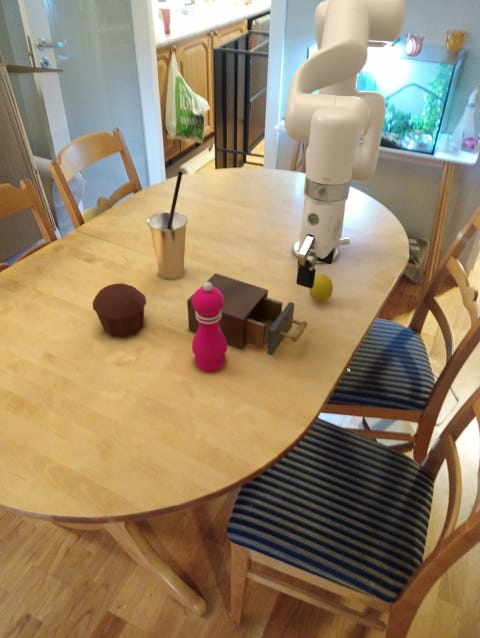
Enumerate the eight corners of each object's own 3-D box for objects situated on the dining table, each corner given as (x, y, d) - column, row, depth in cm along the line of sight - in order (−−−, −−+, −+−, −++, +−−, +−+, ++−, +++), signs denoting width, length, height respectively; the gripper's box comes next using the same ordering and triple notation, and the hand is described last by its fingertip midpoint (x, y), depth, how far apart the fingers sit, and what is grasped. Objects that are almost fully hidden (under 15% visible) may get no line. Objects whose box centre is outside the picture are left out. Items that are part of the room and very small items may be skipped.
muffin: (158, 318, 110) (154, 283, 104) (131, 347, 102) (125, 311, 96) (116, 305, 114) (110, 270, 107) (87, 332, 106) (78, 296, 99)
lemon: (332, 297, 117) (336, 270, 112) (327, 310, 113) (332, 283, 108) (310, 293, 119) (314, 266, 114) (305, 305, 115) (309, 278, 110)
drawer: (309, 333, 105) (313, 308, 101) (290, 362, 98) (293, 338, 94) (243, 310, 111) (243, 287, 107) (220, 337, 104) (219, 312, 100)
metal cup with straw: (188, 287, 120) (181, 173, 101) (145, 282, 121) (131, 168, 102) (199, 265, 128) (195, 155, 109) (159, 260, 130) (149, 151, 111)
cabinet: (266, 319, 110) (268, 289, 105) (242, 350, 102) (243, 319, 96) (215, 302, 115) (215, 273, 110) (188, 330, 107) (186, 300, 101)
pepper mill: (192, 350, 102) (187, 272, 89) (226, 349, 102) (226, 271, 90) (192, 374, 96) (187, 295, 83) (228, 373, 96) (228, 293, 84)
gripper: (329, 211, 72) (316, 302, 82) (363, 175, 84) (348, 258, 94) (284, 200, 75) (277, 290, 85) (324, 167, 87) (313, 249, 97)
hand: (314, 273), depth 90 cm, fingers open, 9 cm apart
